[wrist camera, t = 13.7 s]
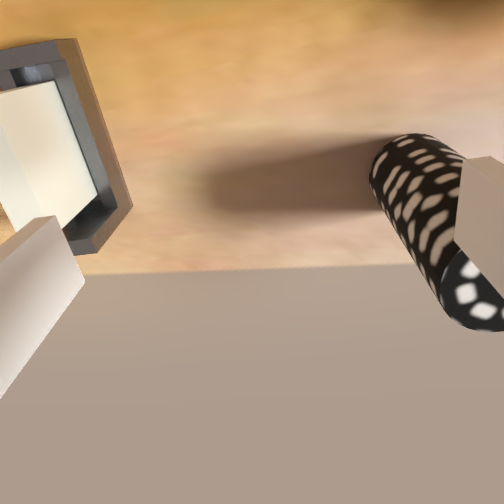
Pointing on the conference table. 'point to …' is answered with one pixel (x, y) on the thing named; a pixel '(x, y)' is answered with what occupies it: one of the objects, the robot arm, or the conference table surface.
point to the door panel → (41, 157)
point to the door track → (87, 130)
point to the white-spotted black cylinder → (434, 225)
